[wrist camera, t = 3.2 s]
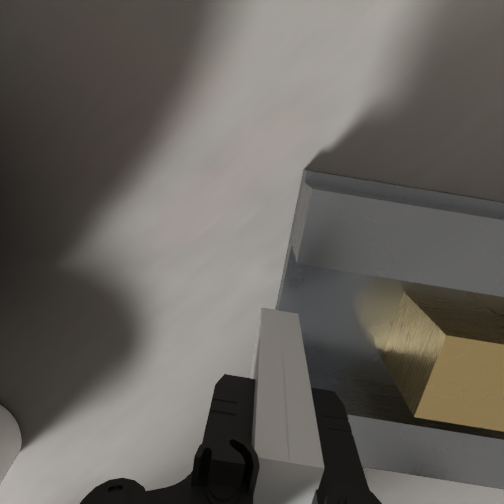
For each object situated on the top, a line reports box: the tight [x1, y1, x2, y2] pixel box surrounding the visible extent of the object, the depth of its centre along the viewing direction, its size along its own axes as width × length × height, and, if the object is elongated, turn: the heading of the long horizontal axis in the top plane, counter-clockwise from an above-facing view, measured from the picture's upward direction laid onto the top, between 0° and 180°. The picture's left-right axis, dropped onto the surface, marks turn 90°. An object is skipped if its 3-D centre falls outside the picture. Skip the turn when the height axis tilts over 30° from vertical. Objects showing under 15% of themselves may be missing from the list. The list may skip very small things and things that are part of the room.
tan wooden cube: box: [382, 292, 504, 432], centre depth 15 cm, size 4×4×4 cm
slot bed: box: [276, 170, 504, 489], centre depth 16 cm, size 14×20×4 cm
